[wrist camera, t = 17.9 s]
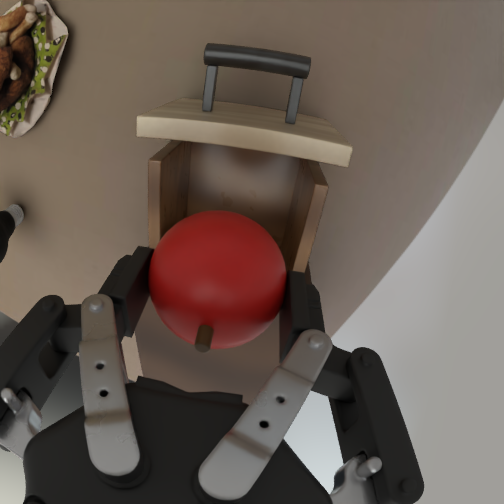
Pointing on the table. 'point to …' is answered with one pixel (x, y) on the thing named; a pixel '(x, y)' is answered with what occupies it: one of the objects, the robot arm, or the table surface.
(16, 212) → the light bulb
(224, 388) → the cabinet
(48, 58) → the bear figurine
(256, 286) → the apple
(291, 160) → the drawer
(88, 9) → the table surface
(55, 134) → the table surface
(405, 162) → the table surface
